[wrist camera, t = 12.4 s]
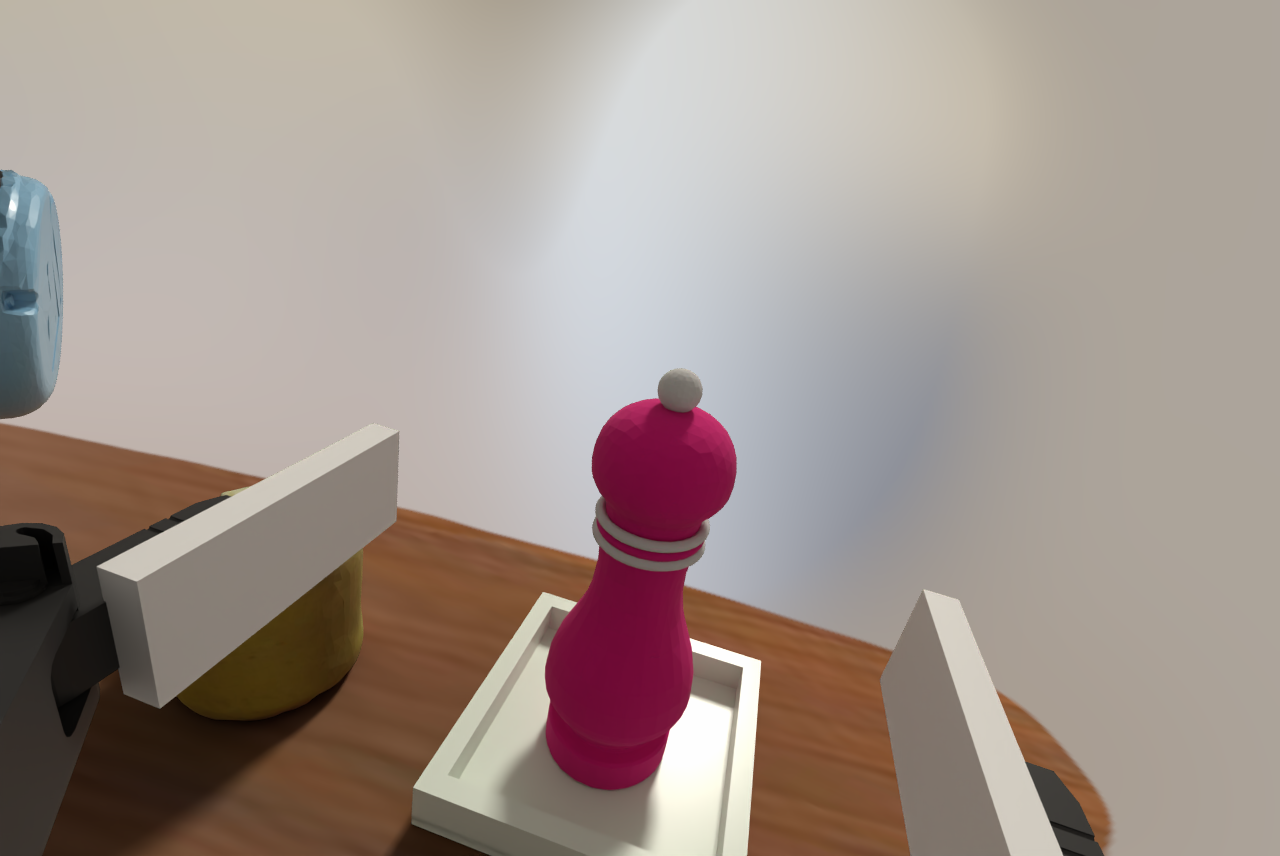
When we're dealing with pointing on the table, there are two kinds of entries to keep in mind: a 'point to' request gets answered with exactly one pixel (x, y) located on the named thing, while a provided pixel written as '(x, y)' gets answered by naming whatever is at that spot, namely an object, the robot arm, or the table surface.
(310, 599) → the mug
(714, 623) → the table surface
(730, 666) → the tray
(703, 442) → the pepper mill
